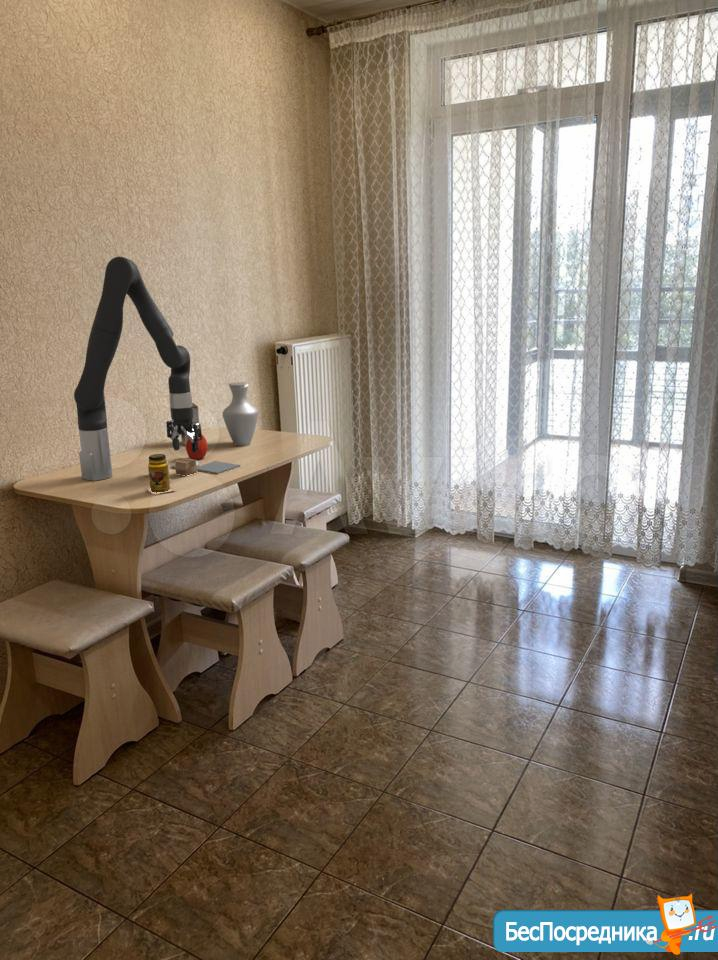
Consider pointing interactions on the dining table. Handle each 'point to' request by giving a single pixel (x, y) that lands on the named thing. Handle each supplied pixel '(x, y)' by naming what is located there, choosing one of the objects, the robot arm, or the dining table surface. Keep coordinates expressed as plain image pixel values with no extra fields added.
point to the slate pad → (217, 467)
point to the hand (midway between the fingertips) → (185, 451)
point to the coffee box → (195, 420)
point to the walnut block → (185, 466)
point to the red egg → (201, 449)
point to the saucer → (196, 464)
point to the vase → (240, 415)
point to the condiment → (158, 473)
